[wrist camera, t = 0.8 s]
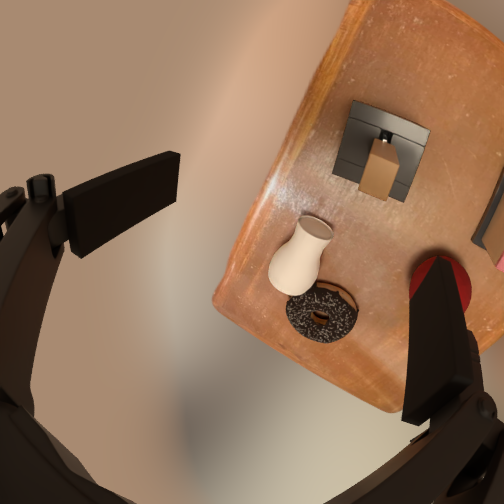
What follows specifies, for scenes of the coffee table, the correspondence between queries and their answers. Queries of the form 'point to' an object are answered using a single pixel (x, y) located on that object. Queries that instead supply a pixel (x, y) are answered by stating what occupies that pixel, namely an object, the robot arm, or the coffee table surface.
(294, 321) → the donut
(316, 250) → the cream ceramic vase
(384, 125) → the knife block
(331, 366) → the coffee table surface
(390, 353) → the coffee table surface
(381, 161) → the knife
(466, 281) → the apple
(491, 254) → the cake
